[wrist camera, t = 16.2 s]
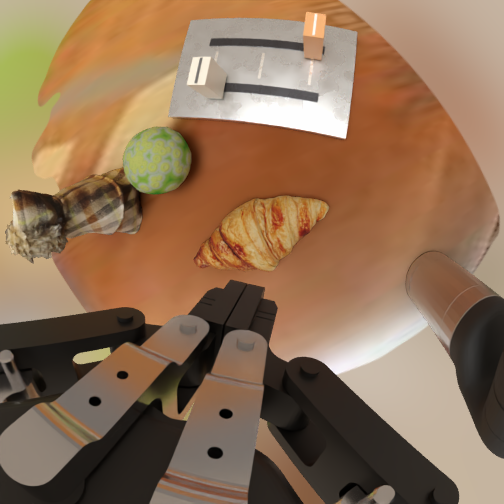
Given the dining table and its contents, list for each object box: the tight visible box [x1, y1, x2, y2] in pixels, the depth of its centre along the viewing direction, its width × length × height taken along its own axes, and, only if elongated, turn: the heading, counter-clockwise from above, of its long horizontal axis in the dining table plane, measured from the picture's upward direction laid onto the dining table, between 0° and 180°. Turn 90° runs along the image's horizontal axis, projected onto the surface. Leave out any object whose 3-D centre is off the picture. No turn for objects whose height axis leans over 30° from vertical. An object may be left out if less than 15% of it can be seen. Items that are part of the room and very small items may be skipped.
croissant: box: [194, 195, 329, 272], centre depth 38 cm, size 21×10×8 cm, turn 117°
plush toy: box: [5, 167, 142, 263], centre depth 33 cm, size 14×14×25 cm
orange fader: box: [303, 12, 326, 60], centre depth 26 cm, size 2×4×7 cm, turn 171°
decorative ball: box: [123, 127, 192, 194], centre depth 35 cm, size 10×10×10 cm
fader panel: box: [168, 18, 357, 140], centre depth 33 cm, size 26×18×2 cm
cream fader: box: [187, 57, 227, 99], centre depth 30 cm, size 2×4×7 cm, turn 171°
